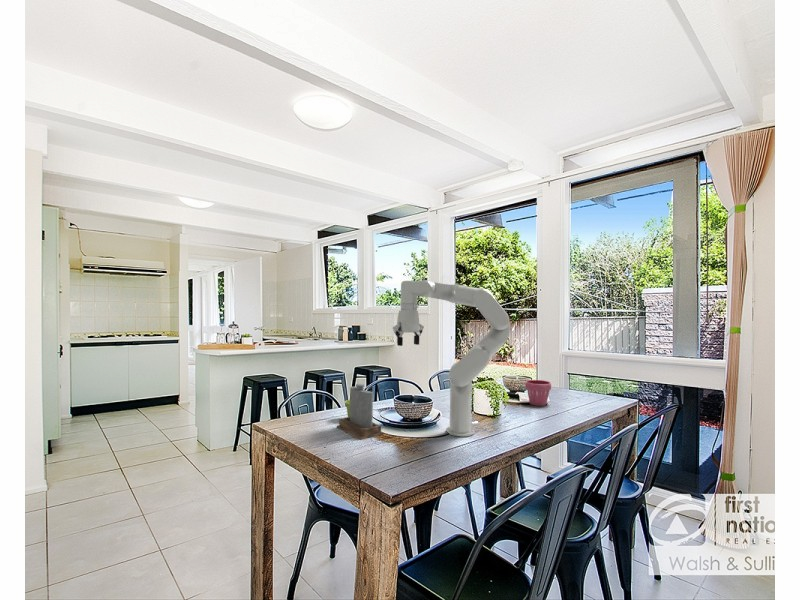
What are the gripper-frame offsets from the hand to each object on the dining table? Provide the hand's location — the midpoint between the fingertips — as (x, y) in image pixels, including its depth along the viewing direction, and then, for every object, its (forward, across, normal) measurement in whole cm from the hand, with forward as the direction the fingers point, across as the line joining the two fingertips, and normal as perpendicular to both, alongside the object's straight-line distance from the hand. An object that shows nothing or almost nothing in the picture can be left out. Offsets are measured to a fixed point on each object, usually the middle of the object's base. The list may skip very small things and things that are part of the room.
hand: (408, 345), depth 195 cm
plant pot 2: (+38, -91, +6) cm, 99 cm away
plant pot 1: (+38, +12, -27) cm, 49 cm away
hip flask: (+38, +20, -9) cm, 43 cm away
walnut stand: (+38, +20, -9) cm, 44 cm away
